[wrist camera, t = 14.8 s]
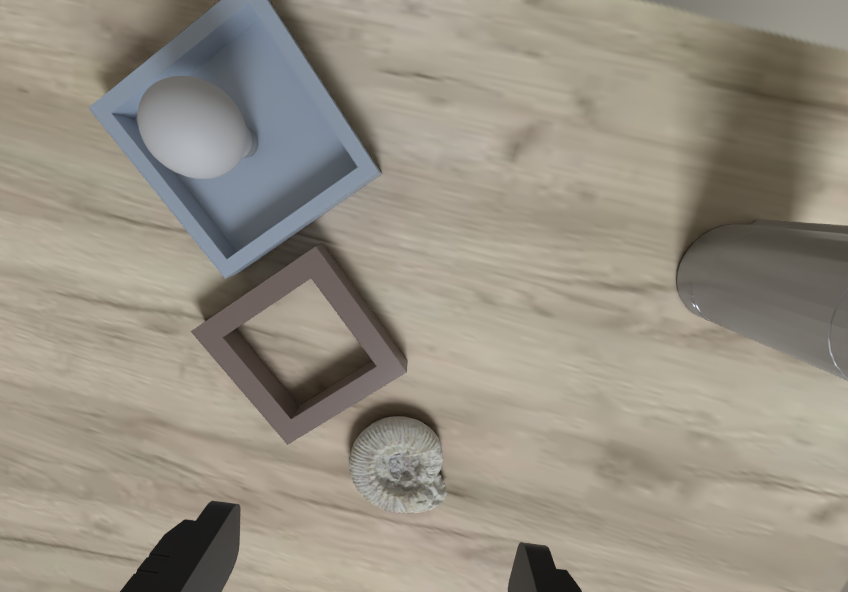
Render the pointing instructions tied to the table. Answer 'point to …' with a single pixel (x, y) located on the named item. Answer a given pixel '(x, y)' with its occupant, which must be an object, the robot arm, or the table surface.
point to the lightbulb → (194, 127)
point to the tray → (263, 113)
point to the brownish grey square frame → (259, 379)
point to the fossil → (398, 465)
